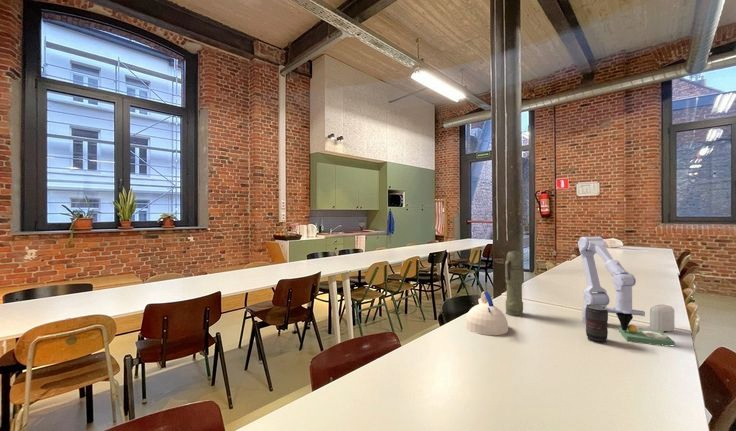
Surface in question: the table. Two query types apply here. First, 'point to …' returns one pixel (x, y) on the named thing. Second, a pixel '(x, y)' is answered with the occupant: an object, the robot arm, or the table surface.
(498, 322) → the kettle
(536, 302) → the table surface
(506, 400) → the table surface
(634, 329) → the ball
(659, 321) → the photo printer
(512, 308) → the thermos
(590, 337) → the camera lens
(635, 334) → the mat
